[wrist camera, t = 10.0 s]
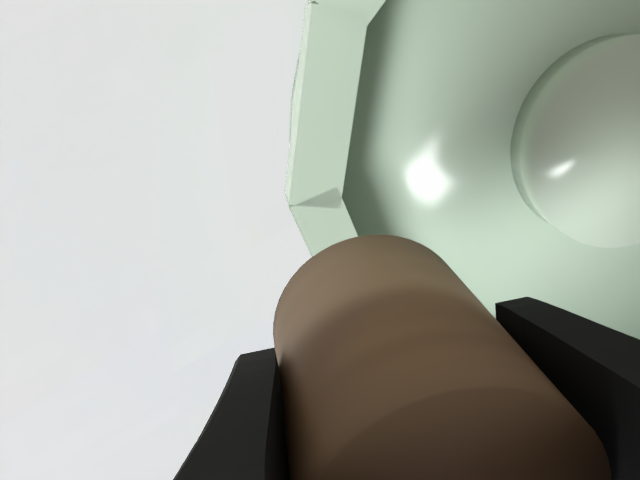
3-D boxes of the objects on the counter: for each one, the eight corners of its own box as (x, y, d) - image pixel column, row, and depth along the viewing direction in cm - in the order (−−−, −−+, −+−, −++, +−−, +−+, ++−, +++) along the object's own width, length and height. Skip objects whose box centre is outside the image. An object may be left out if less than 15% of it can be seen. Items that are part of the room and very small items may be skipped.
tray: (731, 392, 23) (783, 431, 21) (260, 376, 20) (263, 421, 17) (973, -158, 16) (1088, -186, 14) (336, -314, 13) (355, -383, 11)
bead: (469, 385, 12) (606, 597, 8) (291, 424, 12) (324, 668, 8) (458, 216, 11) (618, 354, 6) (255, 256, 11) (268, 430, 6)
